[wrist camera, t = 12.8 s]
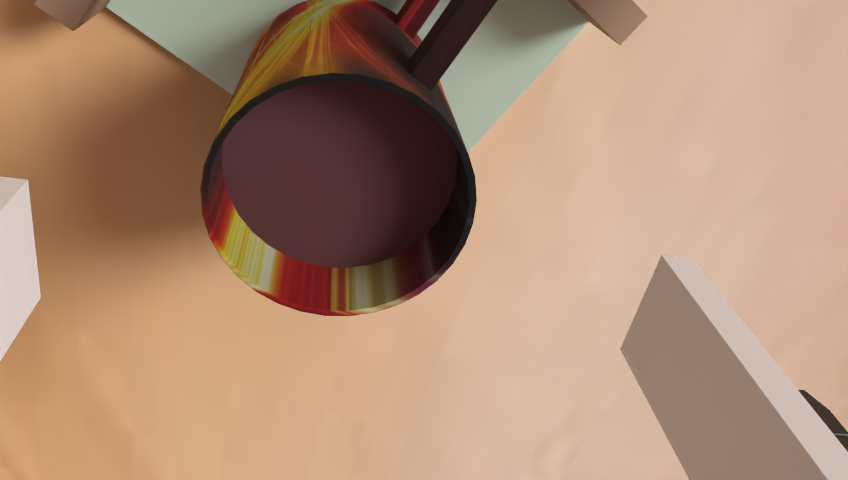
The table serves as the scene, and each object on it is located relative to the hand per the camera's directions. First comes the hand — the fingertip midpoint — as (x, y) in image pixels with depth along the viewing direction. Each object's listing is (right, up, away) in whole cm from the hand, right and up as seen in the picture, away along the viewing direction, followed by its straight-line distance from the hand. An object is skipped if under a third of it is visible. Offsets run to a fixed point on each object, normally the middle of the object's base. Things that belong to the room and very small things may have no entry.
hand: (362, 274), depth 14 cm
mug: (-2, +10, +19) cm, 21 cm away
